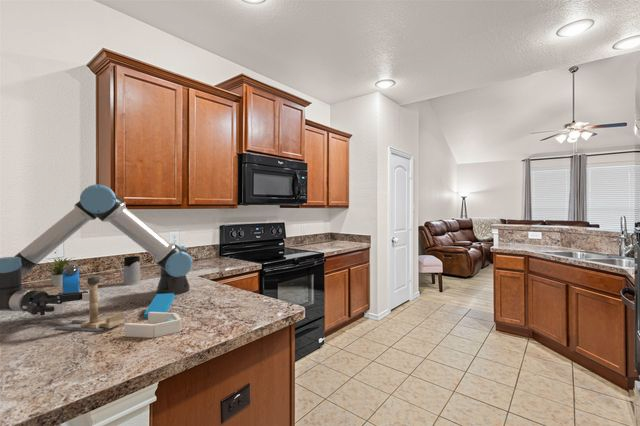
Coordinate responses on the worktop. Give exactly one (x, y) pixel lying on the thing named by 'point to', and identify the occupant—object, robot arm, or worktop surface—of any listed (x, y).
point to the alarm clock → (71, 279)
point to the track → (79, 327)
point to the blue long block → (160, 303)
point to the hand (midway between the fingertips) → (82, 302)
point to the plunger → (93, 307)
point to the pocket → (155, 325)
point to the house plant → (58, 271)
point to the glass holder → (131, 270)
